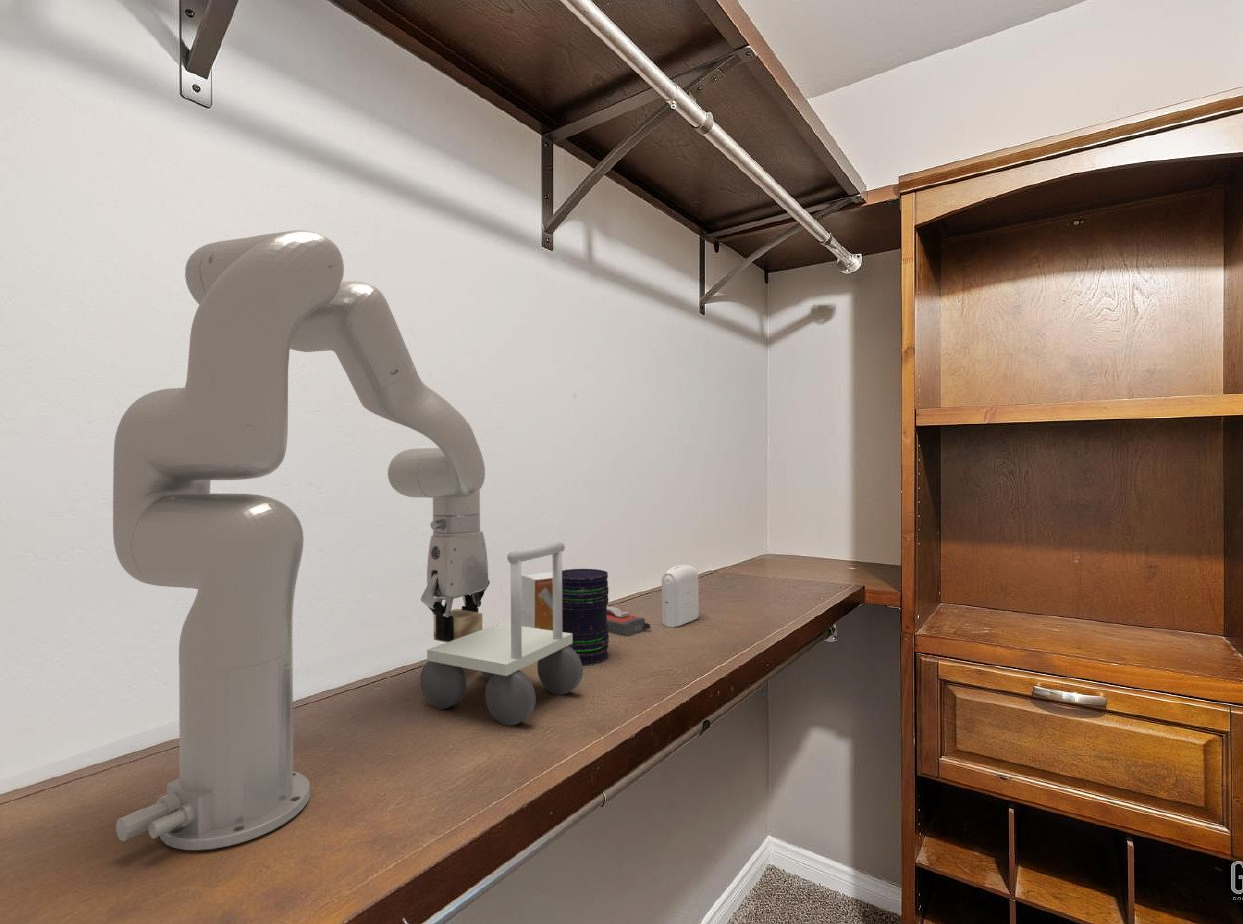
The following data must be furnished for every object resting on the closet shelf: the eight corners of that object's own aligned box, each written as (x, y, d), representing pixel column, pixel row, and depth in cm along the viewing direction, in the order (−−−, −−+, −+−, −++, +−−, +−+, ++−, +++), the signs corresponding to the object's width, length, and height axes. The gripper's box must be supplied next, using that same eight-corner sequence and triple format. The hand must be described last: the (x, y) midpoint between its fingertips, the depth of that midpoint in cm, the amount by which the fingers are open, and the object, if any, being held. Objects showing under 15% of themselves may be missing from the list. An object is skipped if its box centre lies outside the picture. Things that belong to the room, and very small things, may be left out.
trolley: (522, 733, 77) (521, 555, 77) (414, 707, 86) (413, 547, 86) (586, 691, 91) (585, 541, 92) (488, 672, 100) (487, 535, 100)
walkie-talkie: (657, 630, 126) (590, 615, 140) (657, 609, 126) (589, 596, 140) (630, 640, 120) (561, 623, 133) (629, 617, 120) (561, 603, 133)
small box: (534, 649, 113) (534, 579, 113) (520, 641, 118) (520, 574, 118) (572, 642, 117) (572, 575, 117) (557, 634, 123) (557, 570, 123)
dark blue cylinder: (600, 646, 114) (600, 567, 114) (616, 662, 105) (615, 576, 105) (548, 651, 111) (548, 570, 111) (560, 668, 102) (559, 580, 102)
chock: (459, 645, 96) (459, 620, 96) (433, 639, 99) (433, 615, 99) (482, 637, 100) (482, 613, 100) (456, 632, 103) (456, 608, 103)
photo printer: (676, 629, 126) (675, 569, 126) (659, 625, 129) (658, 567, 129) (701, 618, 134) (701, 563, 134) (685, 616, 137) (685, 561, 137)
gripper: (435, 531, 90) (436, 653, 90) (507, 521, 105) (508, 625, 105) (399, 529, 94) (400, 646, 94) (474, 519, 109) (475, 620, 109)
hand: (457, 634), depth 100 cm, fingers closed on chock, 5 cm apart
